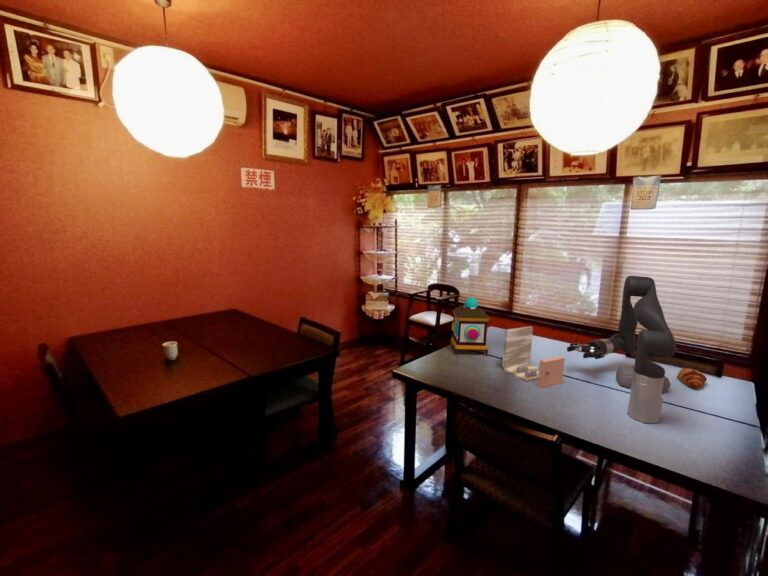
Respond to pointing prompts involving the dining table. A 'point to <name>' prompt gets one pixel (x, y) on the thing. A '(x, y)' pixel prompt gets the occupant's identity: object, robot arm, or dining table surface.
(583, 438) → the dining table surface
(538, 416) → the dining table surface
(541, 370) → the door
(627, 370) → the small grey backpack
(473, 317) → the decorative lantern
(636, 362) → the robot arm
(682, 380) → the croissant
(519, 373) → the wooden bookend stand
